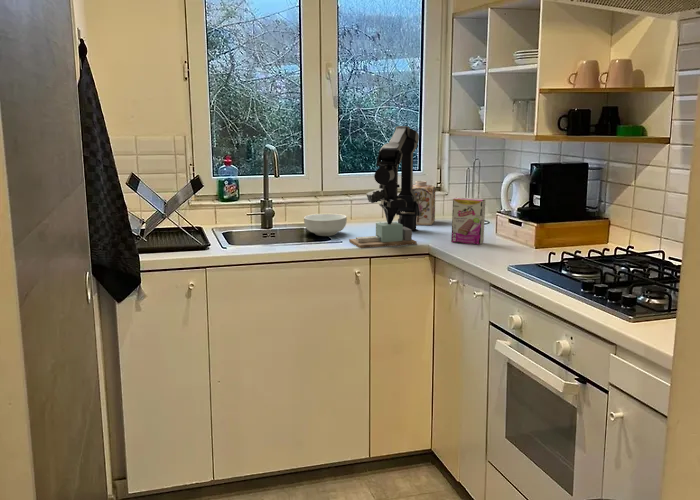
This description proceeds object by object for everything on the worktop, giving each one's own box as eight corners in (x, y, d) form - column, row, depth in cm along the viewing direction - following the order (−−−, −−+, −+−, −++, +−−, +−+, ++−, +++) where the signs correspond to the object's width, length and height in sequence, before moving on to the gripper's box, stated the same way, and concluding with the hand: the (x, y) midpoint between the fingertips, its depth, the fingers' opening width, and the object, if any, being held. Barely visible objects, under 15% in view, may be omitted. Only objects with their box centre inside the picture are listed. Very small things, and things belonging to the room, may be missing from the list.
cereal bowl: (313, 229, 292) (313, 212, 290) (352, 231, 287) (352, 214, 285) (297, 236, 276) (297, 218, 275) (337, 239, 271) (337, 221, 269)
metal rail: (406, 238, 268) (406, 234, 268) (409, 239, 265) (409, 235, 265) (355, 241, 262) (355, 237, 261) (358, 242, 259) (358, 238, 259)
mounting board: (404, 238, 273) (404, 235, 272) (416, 244, 261) (416, 241, 261) (349, 241, 266) (349, 239, 266) (359, 248, 255) (359, 245, 254)
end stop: (404, 237, 270) (404, 226, 269) (411, 240, 263) (411, 229, 262) (398, 237, 269) (398, 227, 268) (405, 240, 262) (405, 230, 262)
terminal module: (395, 237, 268) (396, 221, 267) (402, 240, 262) (402, 224, 261) (375, 239, 266) (375, 223, 265) (381, 242, 260) (382, 225, 259)
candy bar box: (450, 242, 264) (452, 198, 261) (454, 240, 269) (456, 196, 266) (480, 245, 260) (482, 200, 256) (484, 242, 264) (485, 198, 261)
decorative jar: (435, 221, 312) (436, 180, 308) (432, 225, 301) (433, 182, 297) (408, 220, 314) (408, 179, 311) (404, 224, 303) (404, 182, 300)
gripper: (360, 179, 266) (360, 221, 269) (377, 185, 249) (377, 229, 252) (388, 178, 269) (387, 219, 273) (407, 184, 252) (406, 227, 255)
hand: (389, 224), depth 263 cm, fingers closed, pressing on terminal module
